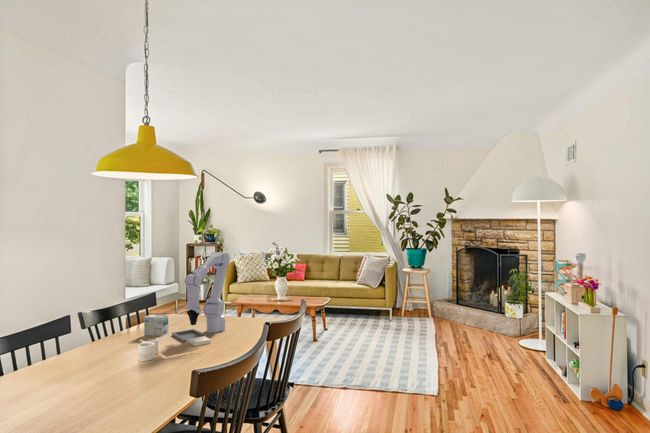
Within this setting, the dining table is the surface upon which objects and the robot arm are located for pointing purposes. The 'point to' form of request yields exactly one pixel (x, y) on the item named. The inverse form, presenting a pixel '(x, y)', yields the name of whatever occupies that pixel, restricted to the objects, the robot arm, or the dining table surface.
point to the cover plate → (199, 341)
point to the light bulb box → (156, 325)
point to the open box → (187, 335)
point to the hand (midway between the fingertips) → (193, 324)
